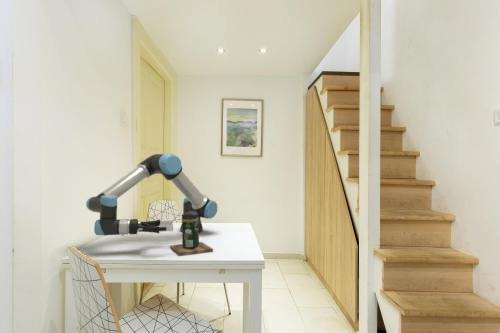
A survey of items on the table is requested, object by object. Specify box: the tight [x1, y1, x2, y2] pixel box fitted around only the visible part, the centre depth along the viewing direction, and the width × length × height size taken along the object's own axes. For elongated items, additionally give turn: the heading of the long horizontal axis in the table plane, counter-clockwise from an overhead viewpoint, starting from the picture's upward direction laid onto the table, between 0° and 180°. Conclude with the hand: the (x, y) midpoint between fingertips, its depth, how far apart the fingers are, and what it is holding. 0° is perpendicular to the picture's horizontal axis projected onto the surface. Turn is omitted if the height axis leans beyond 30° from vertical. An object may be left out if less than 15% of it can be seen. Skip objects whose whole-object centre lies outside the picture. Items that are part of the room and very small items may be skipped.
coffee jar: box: [181, 211, 200, 248], centre depth 160 cm, size 10×8×19 cm
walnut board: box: [169, 241, 214, 257], centre depth 159 cm, size 18×16×2 cm
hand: (173, 225), depth 157 cm, fingers open, 13 cm apart
